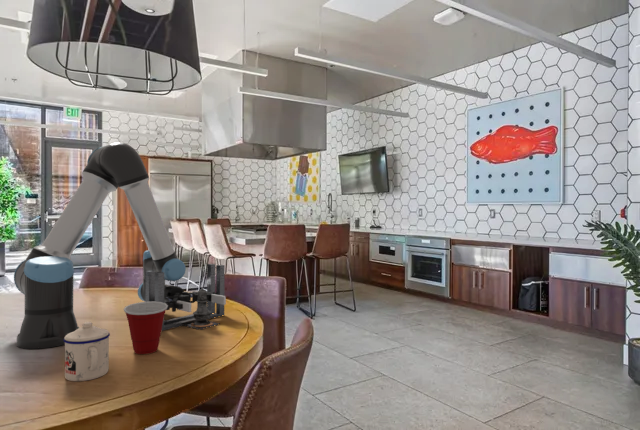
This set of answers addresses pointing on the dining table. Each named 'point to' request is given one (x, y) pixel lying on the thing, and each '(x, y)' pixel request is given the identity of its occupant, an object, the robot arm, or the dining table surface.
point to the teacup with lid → (86, 353)
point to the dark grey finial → (202, 309)
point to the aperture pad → (201, 326)
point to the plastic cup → (145, 325)
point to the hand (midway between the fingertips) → (208, 304)
